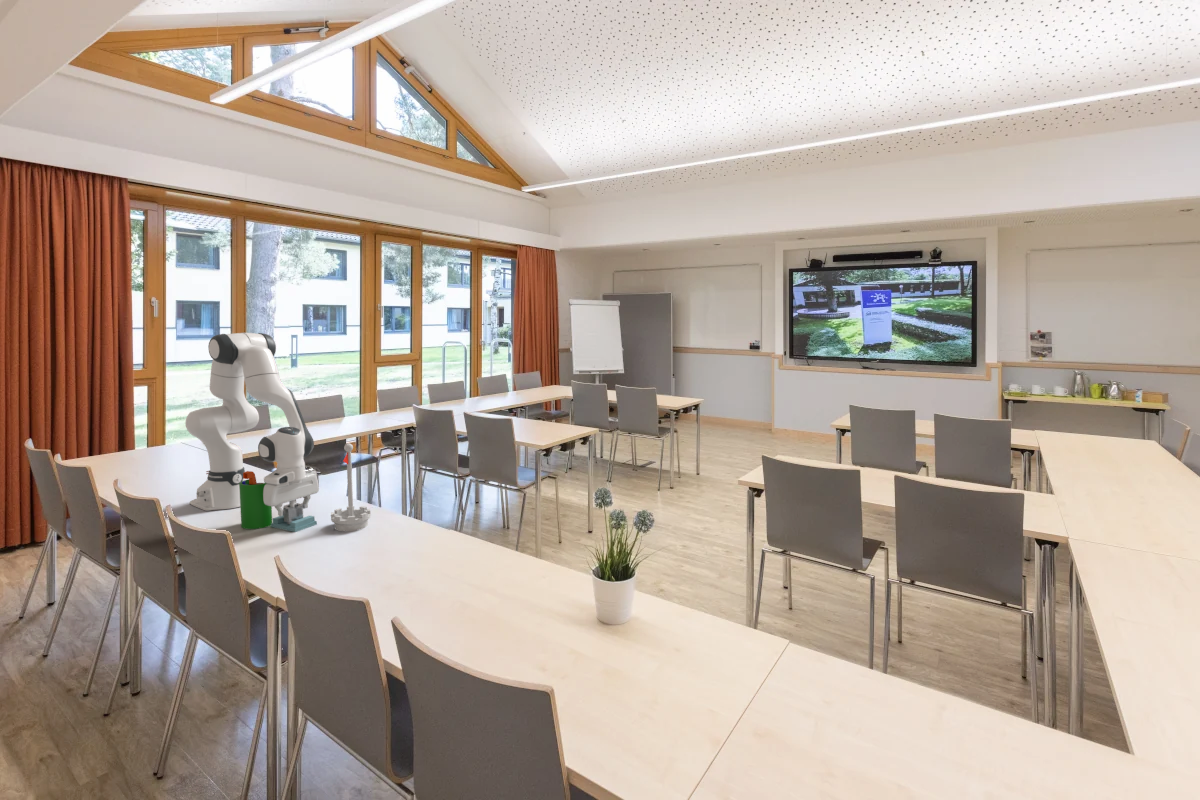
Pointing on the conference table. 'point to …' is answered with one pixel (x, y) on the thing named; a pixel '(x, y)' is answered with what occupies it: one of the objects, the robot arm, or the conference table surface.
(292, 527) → the shaft block
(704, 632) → the conference table surface
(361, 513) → the flag stand
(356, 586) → the conference table surface
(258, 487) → the green cup
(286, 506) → the hub
